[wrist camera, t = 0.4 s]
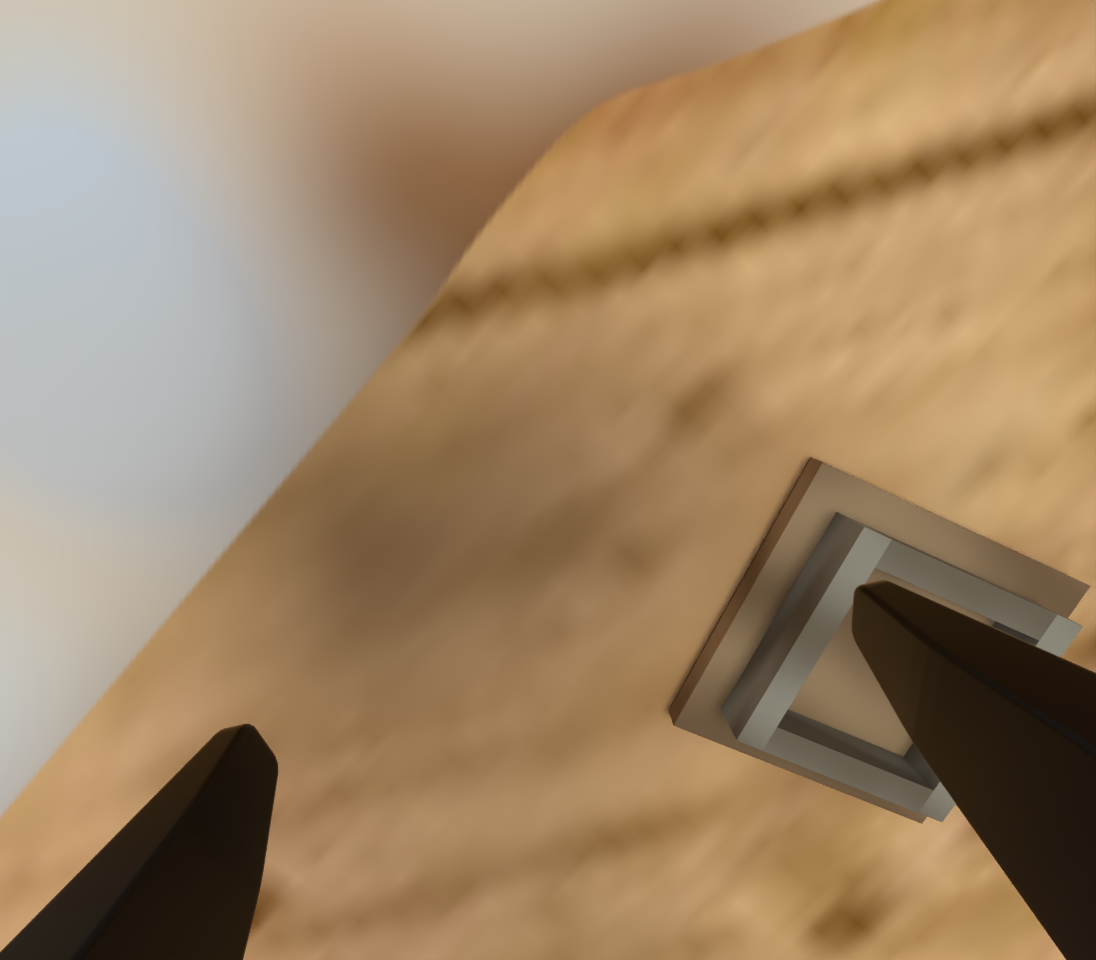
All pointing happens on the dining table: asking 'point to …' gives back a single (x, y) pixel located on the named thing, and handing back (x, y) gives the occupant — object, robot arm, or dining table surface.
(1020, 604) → the jig
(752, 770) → the dining table surface
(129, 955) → the robot arm
